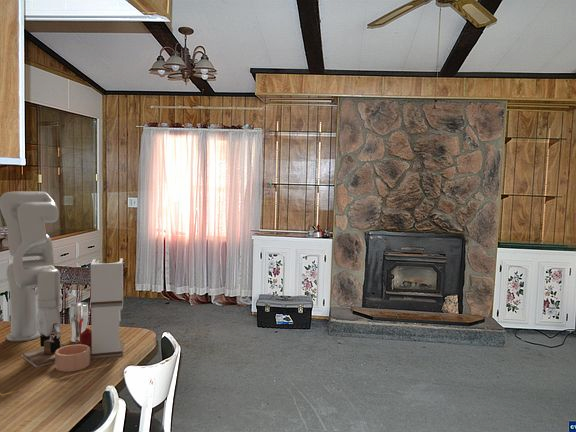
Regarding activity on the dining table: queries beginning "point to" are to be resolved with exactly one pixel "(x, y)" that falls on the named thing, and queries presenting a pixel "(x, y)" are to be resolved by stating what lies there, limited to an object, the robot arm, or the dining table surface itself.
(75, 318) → the beer glass
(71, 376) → the dining table surface
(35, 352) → the lid
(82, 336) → the onion
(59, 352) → the bowl
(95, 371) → the dining table surface
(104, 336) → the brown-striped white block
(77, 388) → the dining table surface
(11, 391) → the dining table surface
